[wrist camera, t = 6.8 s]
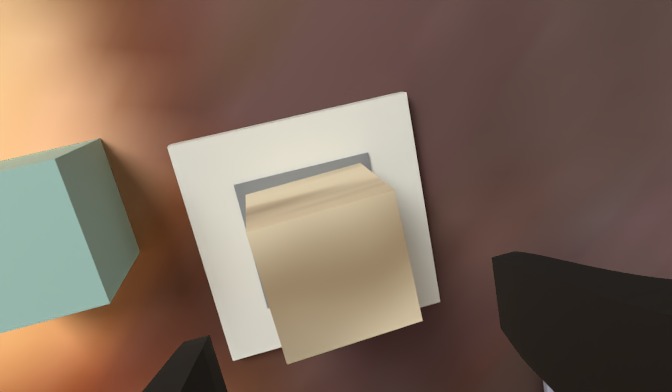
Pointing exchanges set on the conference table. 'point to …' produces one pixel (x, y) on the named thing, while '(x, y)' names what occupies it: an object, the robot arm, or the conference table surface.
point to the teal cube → (60, 234)
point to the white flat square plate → (284, 167)
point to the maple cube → (332, 260)
